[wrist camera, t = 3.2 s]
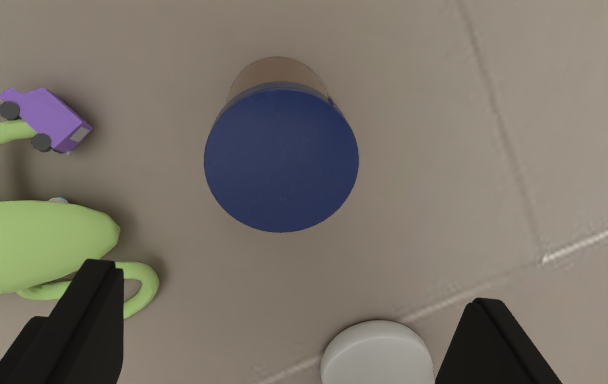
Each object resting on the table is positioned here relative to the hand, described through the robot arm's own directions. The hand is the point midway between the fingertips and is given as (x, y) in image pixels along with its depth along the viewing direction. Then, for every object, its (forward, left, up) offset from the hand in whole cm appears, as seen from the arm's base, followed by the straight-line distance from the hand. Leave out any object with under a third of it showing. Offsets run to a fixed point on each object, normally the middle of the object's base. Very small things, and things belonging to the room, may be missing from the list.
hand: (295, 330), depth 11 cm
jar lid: (0, 0, -10) cm, 10 cm away
